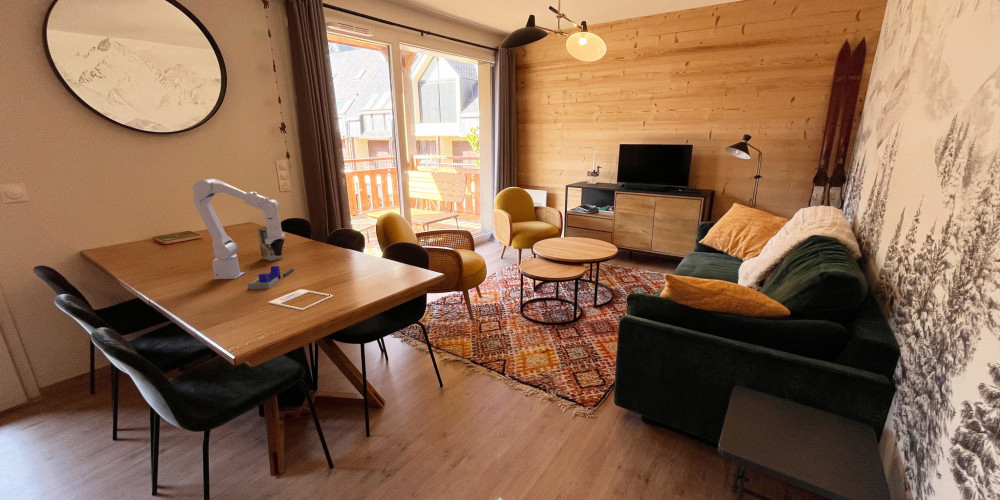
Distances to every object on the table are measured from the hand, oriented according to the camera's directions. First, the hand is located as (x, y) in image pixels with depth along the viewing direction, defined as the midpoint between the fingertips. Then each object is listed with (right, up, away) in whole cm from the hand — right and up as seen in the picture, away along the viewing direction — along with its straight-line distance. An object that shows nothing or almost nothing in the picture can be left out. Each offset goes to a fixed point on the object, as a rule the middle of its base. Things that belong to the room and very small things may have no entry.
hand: (278, 255), depth 184 cm
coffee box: (-18, -2, +26) cm, 32 cm away
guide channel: (0, -9, +1) cm, 9 cm away
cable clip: (+2, -12, -10) cm, 16 cm away
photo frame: (+25, -17, -29) cm, 42 cm away
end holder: (+1, -13, -13) cm, 18 cm away
